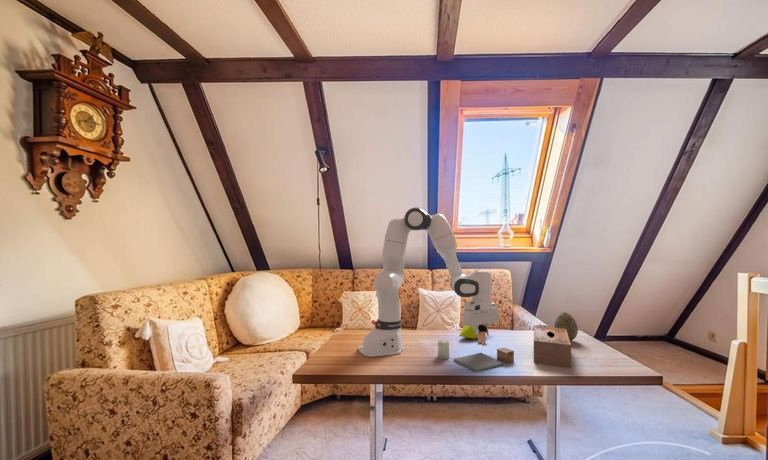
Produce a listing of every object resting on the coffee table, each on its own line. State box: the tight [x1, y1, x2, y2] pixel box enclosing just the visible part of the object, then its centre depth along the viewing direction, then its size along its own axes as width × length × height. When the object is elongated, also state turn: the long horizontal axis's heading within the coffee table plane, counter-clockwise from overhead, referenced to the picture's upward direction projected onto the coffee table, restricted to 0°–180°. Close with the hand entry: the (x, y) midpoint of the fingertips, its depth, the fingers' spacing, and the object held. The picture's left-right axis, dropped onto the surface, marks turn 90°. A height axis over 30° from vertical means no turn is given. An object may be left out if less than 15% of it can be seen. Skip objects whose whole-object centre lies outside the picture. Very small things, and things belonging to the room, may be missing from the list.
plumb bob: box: [459, 323, 494, 340], centre depth 187 cm, size 9×9×25 cm
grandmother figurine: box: [474, 324, 490, 347], centre depth 164 cm, size 8×4×13 cm, turn 56°
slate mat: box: [453, 352, 505, 373], centre depth 150 cm, size 16×14×1 cm
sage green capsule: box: [437, 339, 450, 360], centre depth 157 cm, size 5×5×7 cm
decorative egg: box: [553, 311, 579, 342], centre depth 180 cm, size 11×11×15 cm
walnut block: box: [496, 347, 515, 365], centre depth 152 cm, size 5×5×5 cm
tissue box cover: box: [533, 325, 572, 369], centre depth 159 cm, size 26×14×10 cm, turn 156°
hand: (481, 333), depth 163 cm, fingers closed on grandmother figurine, 3 cm apart
